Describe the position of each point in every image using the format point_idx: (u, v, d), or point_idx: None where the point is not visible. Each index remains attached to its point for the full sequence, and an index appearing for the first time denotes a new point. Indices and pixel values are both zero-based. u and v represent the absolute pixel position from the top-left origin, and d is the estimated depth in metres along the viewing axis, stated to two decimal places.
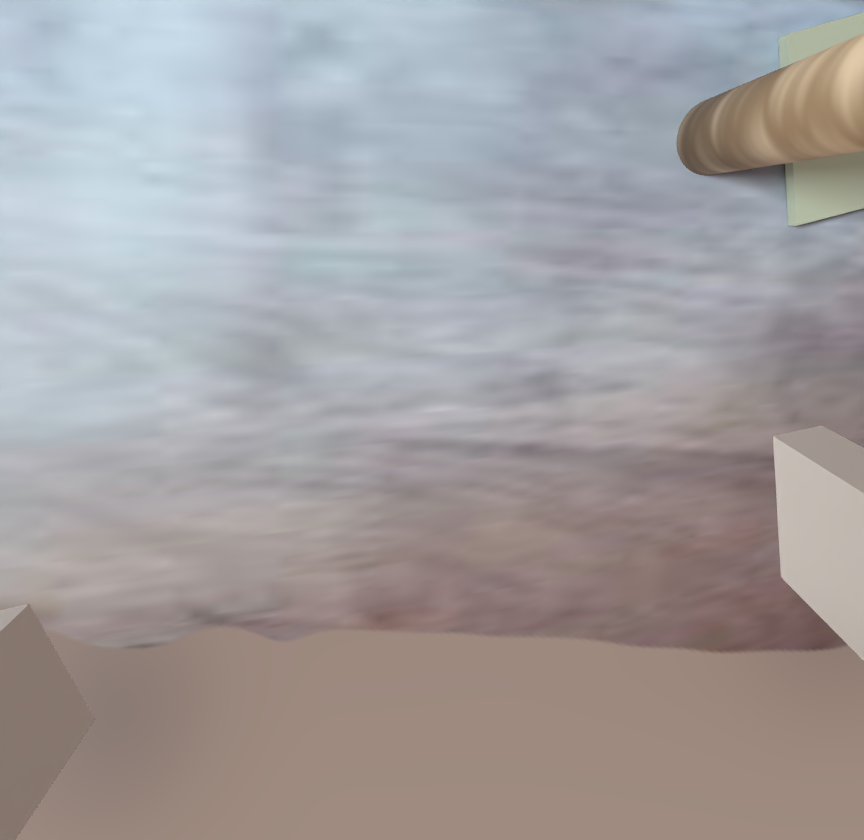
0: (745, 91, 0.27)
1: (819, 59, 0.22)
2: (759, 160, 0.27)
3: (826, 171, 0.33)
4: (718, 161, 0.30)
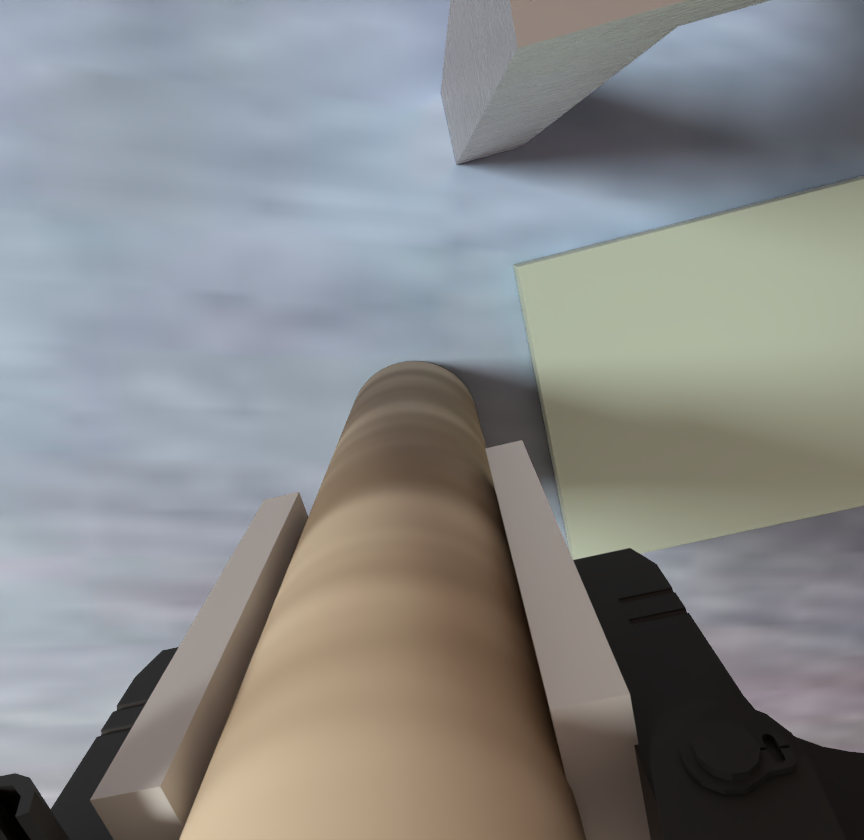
0: (328, 473, 0.12)
1: (266, 642, 0.07)
2: None
3: (620, 487, 0.18)
4: None
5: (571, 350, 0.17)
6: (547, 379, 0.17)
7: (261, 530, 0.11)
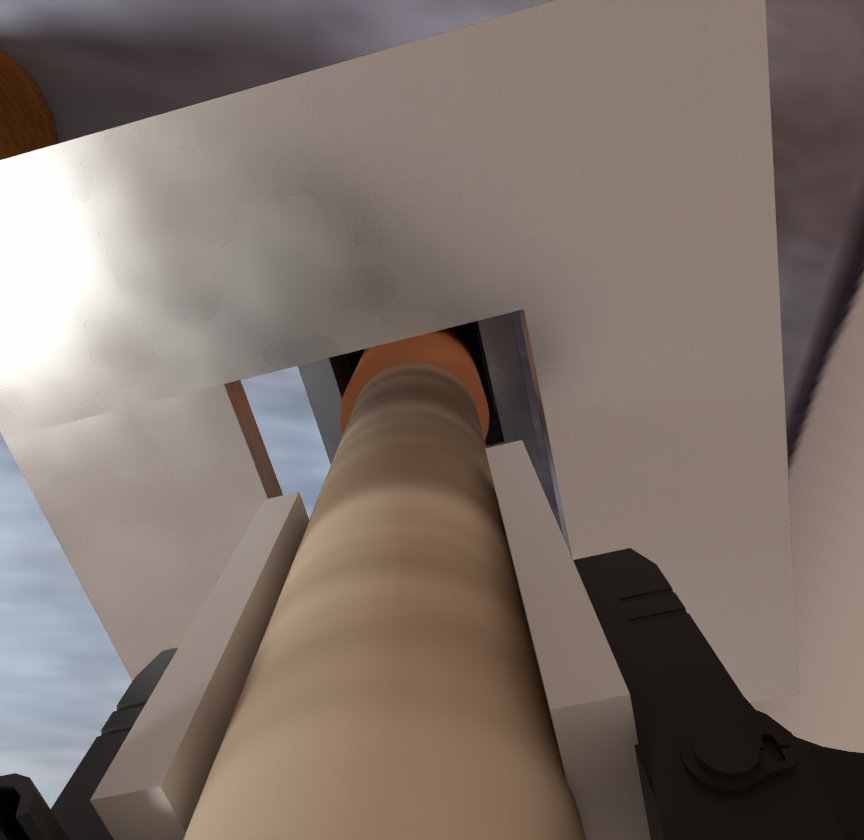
0: (331, 470, 0.12)
1: (273, 632, 0.07)
2: None
3: None
4: None
5: None
6: None
7: (261, 530, 0.11)
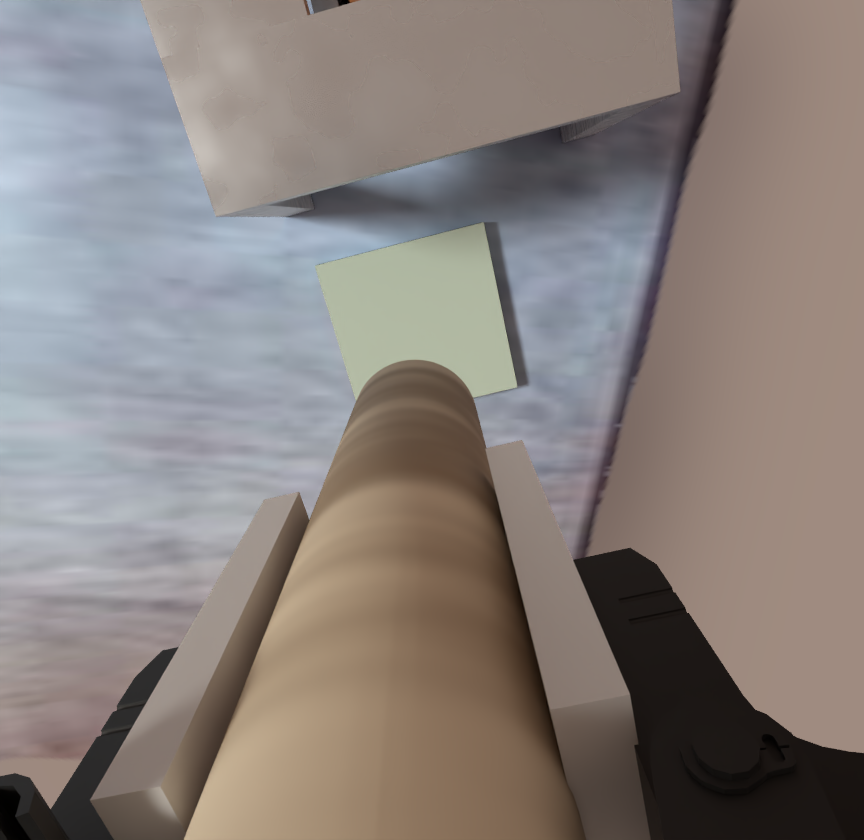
0: (333, 466, 0.12)
1: (278, 620, 0.07)
2: None
3: None
4: None
5: (346, 307, 0.34)
6: (335, 321, 0.34)
7: (261, 530, 0.11)
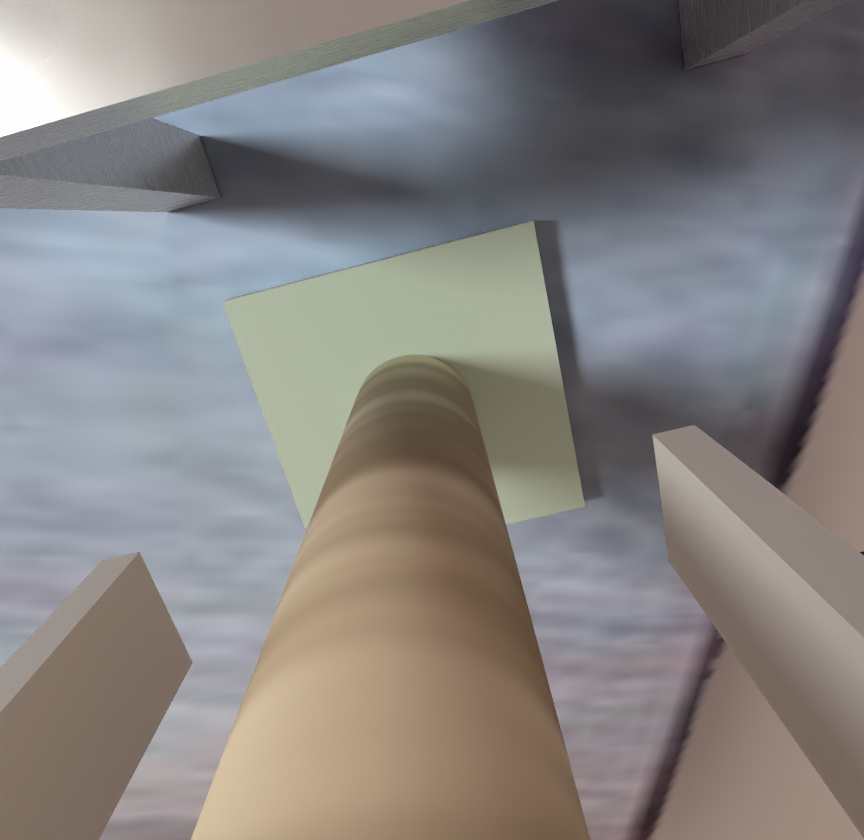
0: (337, 455, 0.13)
1: (292, 590, 0.08)
2: None
3: None
4: None
5: (282, 374, 0.19)
6: (265, 399, 0.19)
7: (77, 602, 0.10)
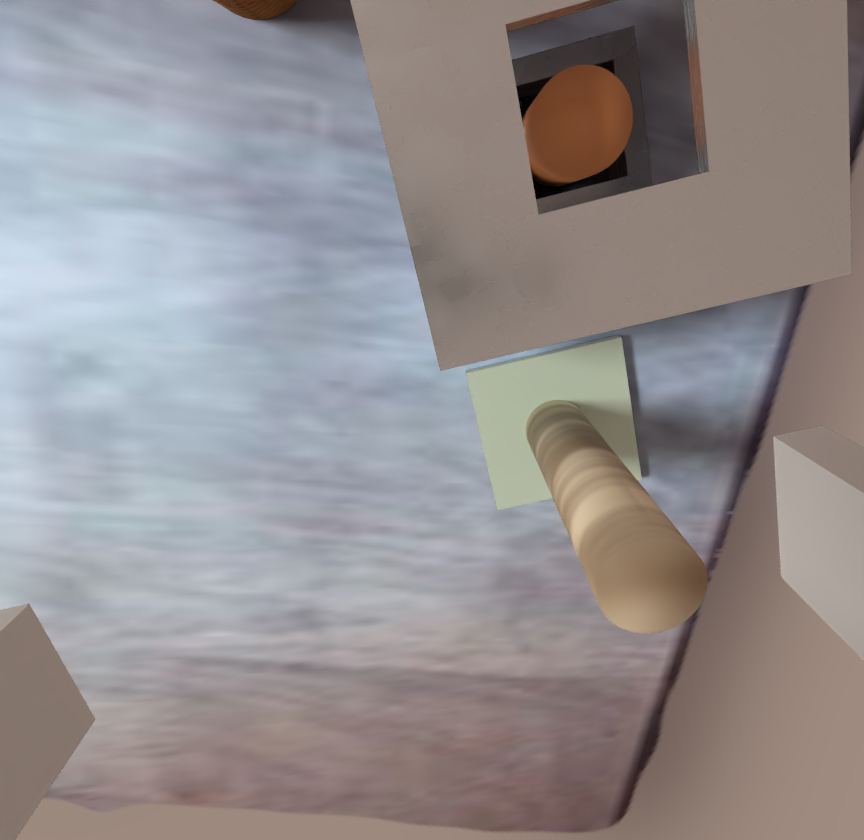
0: (550, 446, 0.32)
1: (573, 482, 0.27)
2: None
3: (516, 471, 0.39)
4: None
5: (491, 409, 0.38)
6: (480, 421, 0.38)
7: None
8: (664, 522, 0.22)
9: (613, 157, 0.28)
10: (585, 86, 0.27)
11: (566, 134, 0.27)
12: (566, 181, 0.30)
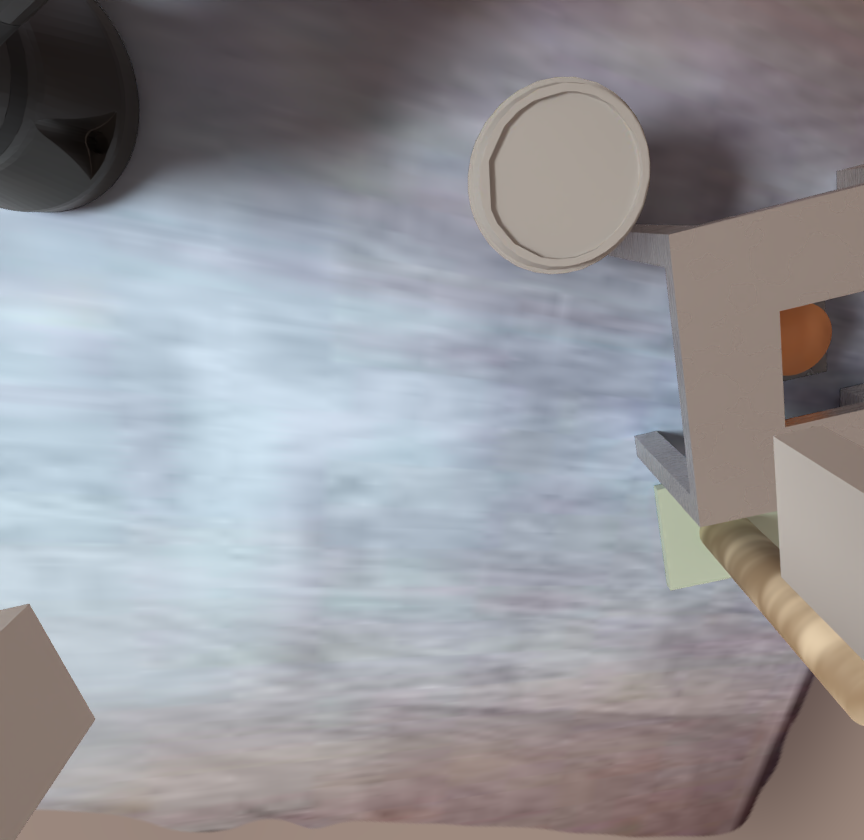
0: (747, 561, 0.42)
1: (791, 605, 0.37)
2: None
3: (689, 561, 0.49)
4: (729, 573, 0.45)
5: (674, 515, 0.48)
6: (664, 524, 0.48)
7: None
8: None
9: (814, 362, 0.38)
10: (799, 316, 0.37)
11: (782, 347, 0.37)
12: None
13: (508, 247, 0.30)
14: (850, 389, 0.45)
